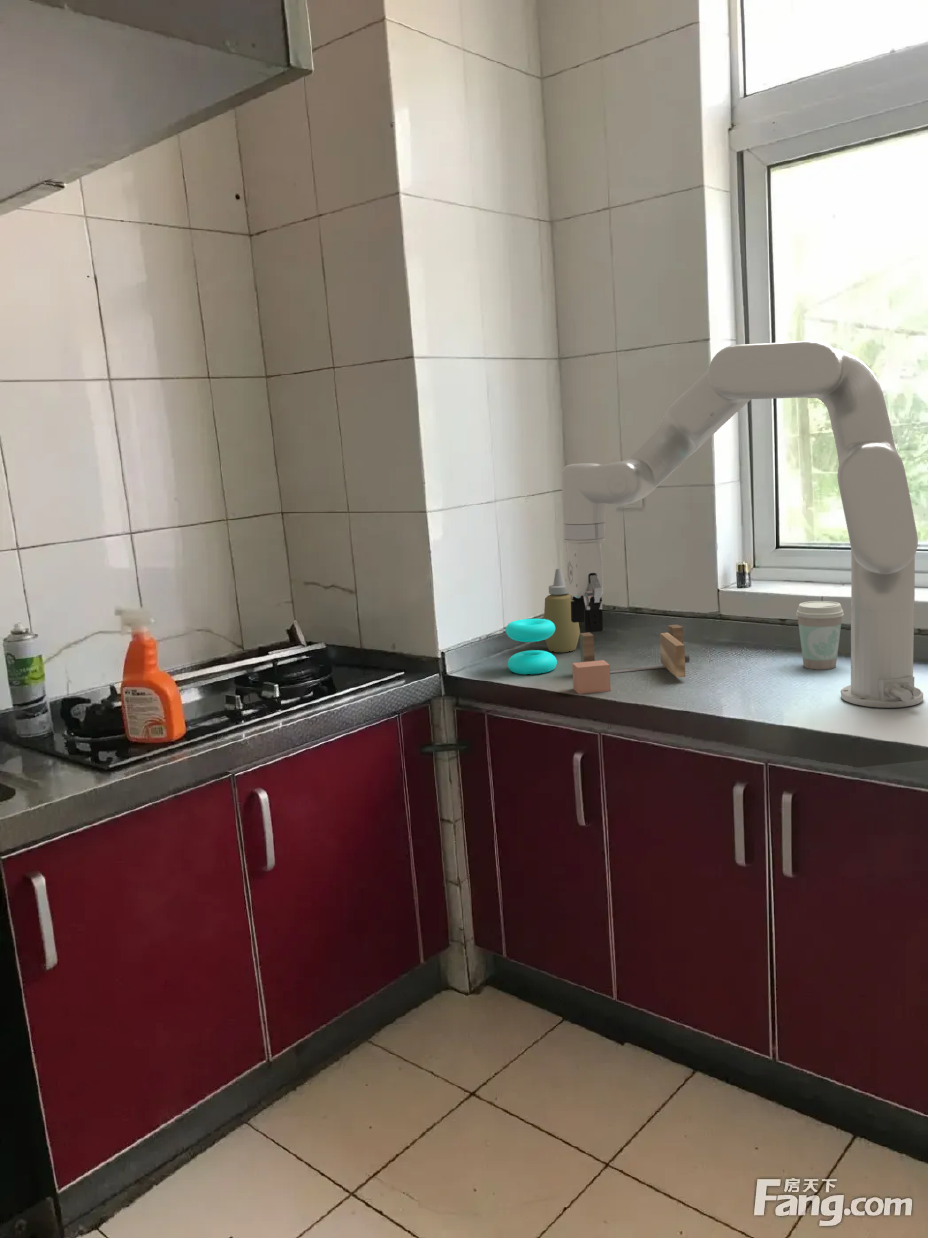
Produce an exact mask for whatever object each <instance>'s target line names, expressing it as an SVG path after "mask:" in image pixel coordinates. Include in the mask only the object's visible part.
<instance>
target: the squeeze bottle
mask: <svg viewBox="0 0 928 1238" xmlns="http://www.w3.org/2000/svg"><path fill="white" fill-rule="evenodd" d="M553 579H554V580H553V583H552V584H551V585H549V586H548V593H549V595H547V596H546V597H545V598H544V609H543V610H544V613H543V619H546V620H550V621H552V622H553V623H554V625H555V632H554V634H553V635H552V636H551V637H549V638H547V639H545V640H544V641H545V644H546V646H547V648H548V651H549V652H552V651H554V652H553V653H568V652H569V651H570V652H572V651H575V650H576V649H577V646H578V643H579V640H580V633H581V629H580V622H576V623H573V622H572V621H571V594H570V593H568V592H567V591H566V588H565V578H564V574H563V570H562V568H557V569H555V572H554V578H553ZM570 652H569V653H570Z"/></svg>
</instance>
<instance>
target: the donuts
mask: <svg viewBox="0 0 928 1238" xmlns="http://www.w3.org/2000/svg"><path fill="white" fill-rule="evenodd" d="M554 632H555V625H554V623H553V622H552V621H550V620H546V619H544V618H523V619H517V620H514V621H511V622H509V623H508V624H507V625H506V627H505V633H506V635H507V637H508V638H510V639H511V640H513V641H516V642H521V643H535V642H540V641H545V639H547V638H549V637H551V636H552V635H553V634H554ZM557 664H558V660H557V658H556V656H555V655H554V654H553V653H551V652H550V651H547V650H546V651H545V650H539V649H537V650H535V649H529V650H523V651H519V652H516V653H515V654H514V653H513V654H512V655H511V656H510V657H509V658H508V661H507V667H508V669H509V671H511V672H513V673H515V674H518V675H527V674H530V675H540V674H541V673H542V674H546V673H549V672H551V671H553V670H554V669H556V667H557Z"/></svg>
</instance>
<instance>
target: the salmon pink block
mask: <svg viewBox="0 0 928 1238" xmlns="http://www.w3.org/2000/svg"><path fill="white" fill-rule="evenodd" d="M571 665H572V667H571V669H572V685H573V686H572V688H573V690H574V691H575V692H576V693H577V694H578V695H583V694H592V693H603V692H611V674H610V670H611V669H610V668H611V665H610V664H609V663H608V662H607V661H605V660H603V659H601V660H600V659H599V660H595V661H589V662H581V661H580V662H572V664H571Z"/></svg>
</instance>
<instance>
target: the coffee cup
mask: <svg viewBox="0 0 928 1238" xmlns="http://www.w3.org/2000/svg"><path fill="white" fill-rule="evenodd" d="M795 615H796V617H797V623H798V630H799V631H798V632H799V638H800V639H799V641H800V647H801V655H802V664H803V667H804V668H805V669H810V670H819V671H820V670H831V669H834V668H836V666H837V661H838V651H839V644H840V637H841V636H840V634H841V630H842V629H841V628H842V627H841V626H842V621H843V620H842V619H843V616H844V615H845V613H844V609H843V607H842V605H841V603H840V602H836V601H827V600H825V601H824V600H812V601H805V602H804V601H803V602H801V603H799V604H798V607H797V610H796V613H795Z"/></svg>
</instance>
